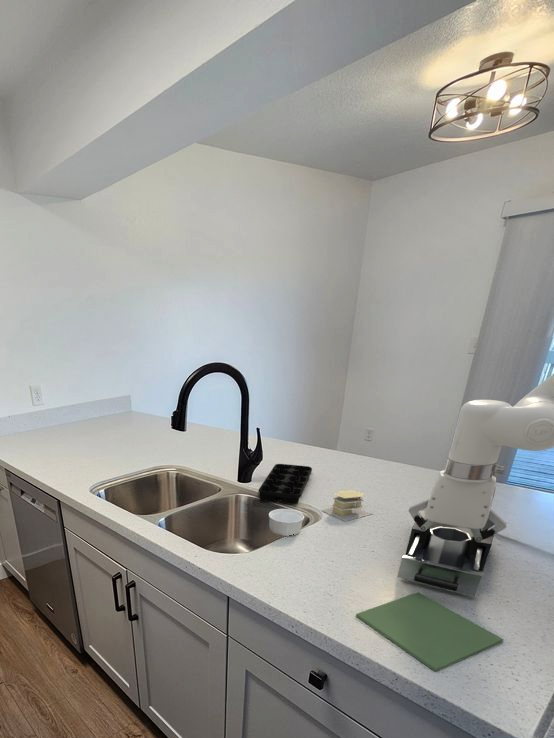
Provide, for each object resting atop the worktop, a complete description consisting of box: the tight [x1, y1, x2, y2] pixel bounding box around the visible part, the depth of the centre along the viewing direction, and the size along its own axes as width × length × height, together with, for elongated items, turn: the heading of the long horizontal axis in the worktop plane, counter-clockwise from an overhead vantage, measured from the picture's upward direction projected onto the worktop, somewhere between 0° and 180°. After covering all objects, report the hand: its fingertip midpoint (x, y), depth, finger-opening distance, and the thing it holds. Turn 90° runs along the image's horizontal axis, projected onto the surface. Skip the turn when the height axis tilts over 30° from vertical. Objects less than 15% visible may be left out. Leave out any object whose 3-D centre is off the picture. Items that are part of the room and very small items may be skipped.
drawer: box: [396, 533, 484, 598], centre depth 89 cm, size 19×13×5 cm
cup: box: [422, 527, 471, 568], centre depth 90 cm, size 7×7×8 cm
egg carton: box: [258, 463, 313, 505], centre depth 141 cm, size 18×30×4 cm, turn 166°
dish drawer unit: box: [405, 508, 495, 573], centre depth 100 cm, size 16×15×7 cm
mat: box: [355, 591, 504, 673], centre depth 77 cm, size 16×16×1 cm
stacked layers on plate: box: [320, 489, 373, 522], centre depth 122 cm, size 10×9×6 cm
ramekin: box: [268, 508, 305, 537], centre depth 114 cm, size 9×9×4 cm
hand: (445, 550), depth 90 cm, fingers closed on cup, 7 cm apart
